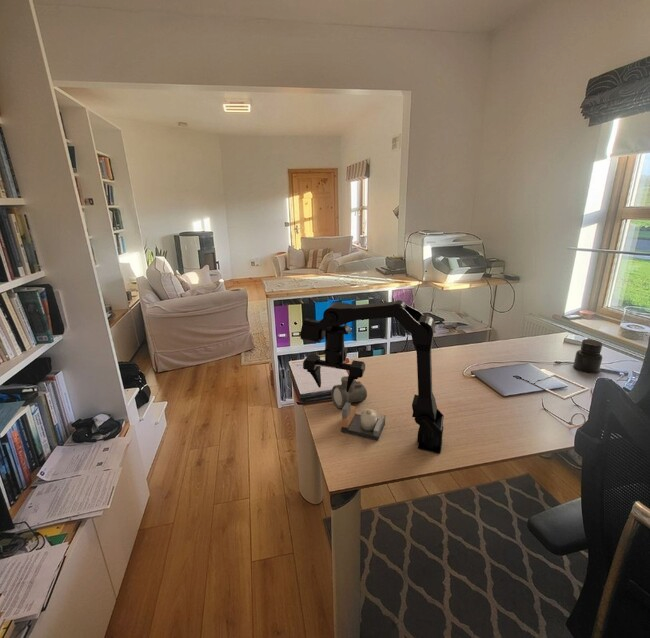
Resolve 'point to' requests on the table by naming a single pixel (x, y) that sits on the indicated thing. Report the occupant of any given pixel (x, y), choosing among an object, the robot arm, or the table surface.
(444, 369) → the table surface
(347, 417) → the tan and grey slab
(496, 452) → the table surface
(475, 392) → the table surface
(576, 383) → the photo frame
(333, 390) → the pipe fitting
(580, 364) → the ink bottle
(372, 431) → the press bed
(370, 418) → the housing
